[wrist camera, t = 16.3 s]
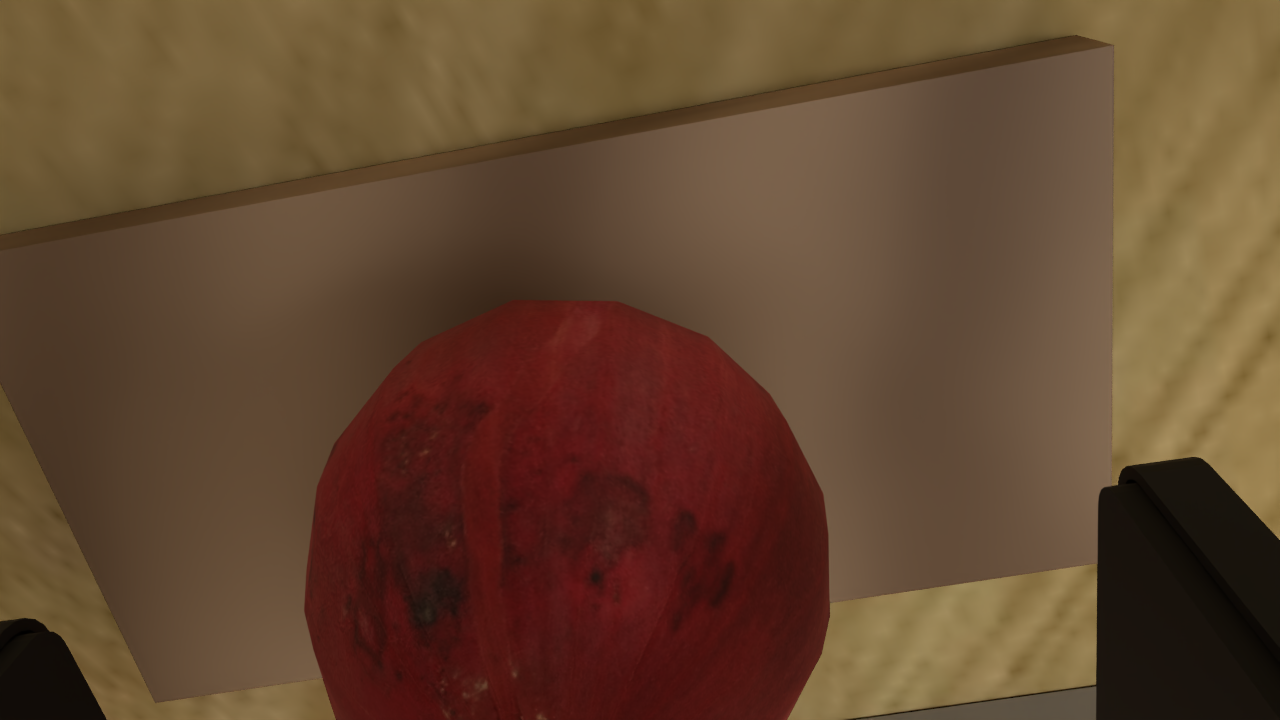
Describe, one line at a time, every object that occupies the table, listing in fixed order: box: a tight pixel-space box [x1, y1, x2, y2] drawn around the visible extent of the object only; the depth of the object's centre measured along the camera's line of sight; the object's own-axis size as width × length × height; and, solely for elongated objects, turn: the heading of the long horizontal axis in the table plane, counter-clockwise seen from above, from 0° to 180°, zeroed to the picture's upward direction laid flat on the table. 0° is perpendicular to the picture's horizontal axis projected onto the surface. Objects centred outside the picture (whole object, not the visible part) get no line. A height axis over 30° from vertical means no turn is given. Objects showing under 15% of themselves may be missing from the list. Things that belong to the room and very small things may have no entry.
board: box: [0, 35, 1114, 703], centre depth 16 cm, size 16×8×1 cm, turn 100°
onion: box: [304, 300, 830, 720], centre depth 11 cm, size 6×6×8 cm
